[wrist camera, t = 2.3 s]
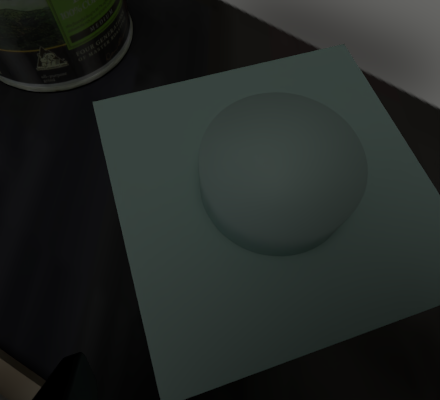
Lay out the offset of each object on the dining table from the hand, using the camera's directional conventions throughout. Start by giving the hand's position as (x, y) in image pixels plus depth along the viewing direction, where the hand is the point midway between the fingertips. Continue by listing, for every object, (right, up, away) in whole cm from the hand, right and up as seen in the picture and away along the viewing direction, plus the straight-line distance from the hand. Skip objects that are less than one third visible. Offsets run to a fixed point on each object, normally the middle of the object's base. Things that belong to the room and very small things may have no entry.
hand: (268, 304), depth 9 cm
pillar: (-1, -3, +9) cm, 9 cm away
